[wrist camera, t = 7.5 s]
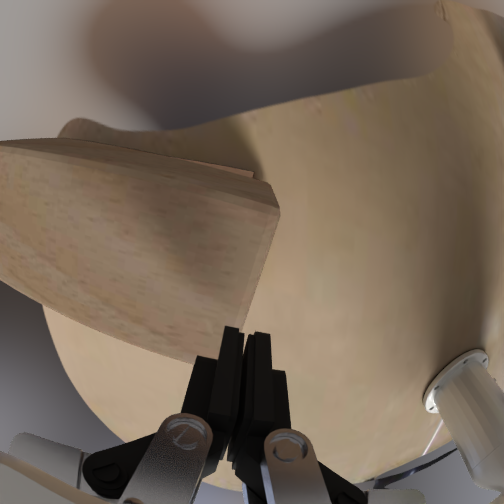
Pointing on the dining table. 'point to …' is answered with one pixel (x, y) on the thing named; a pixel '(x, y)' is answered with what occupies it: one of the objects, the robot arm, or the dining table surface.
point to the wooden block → (134, 241)
